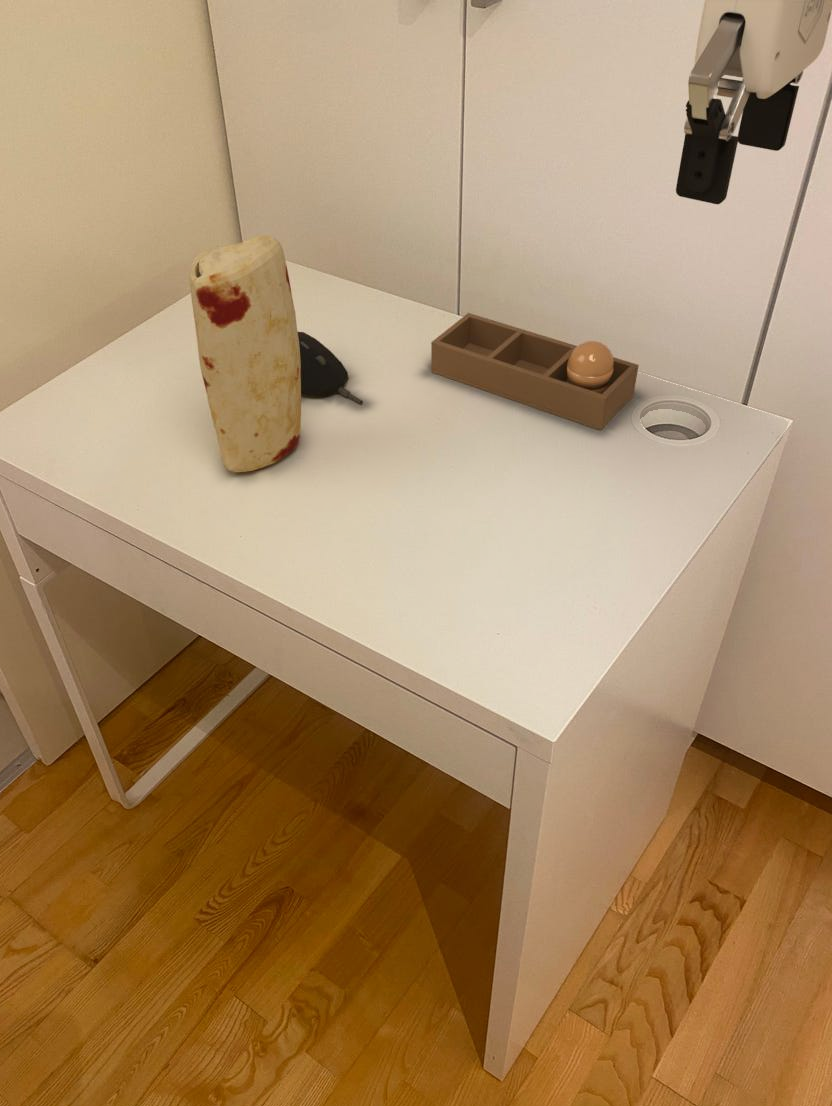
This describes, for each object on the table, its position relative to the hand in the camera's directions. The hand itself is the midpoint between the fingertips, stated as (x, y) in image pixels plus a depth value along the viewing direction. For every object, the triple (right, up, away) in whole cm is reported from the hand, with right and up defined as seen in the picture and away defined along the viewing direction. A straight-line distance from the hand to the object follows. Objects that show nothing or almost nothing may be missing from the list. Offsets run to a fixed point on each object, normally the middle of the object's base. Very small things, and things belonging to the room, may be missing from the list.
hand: (731, 171), depth 66 cm
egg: (-3, -8, +28) cm, 29 cm away
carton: (-8, -6, +31) cm, 33 cm away
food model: (-34, -14, +26) cm, 45 cm away
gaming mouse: (-30, -5, +34) cm, 46 cm away
